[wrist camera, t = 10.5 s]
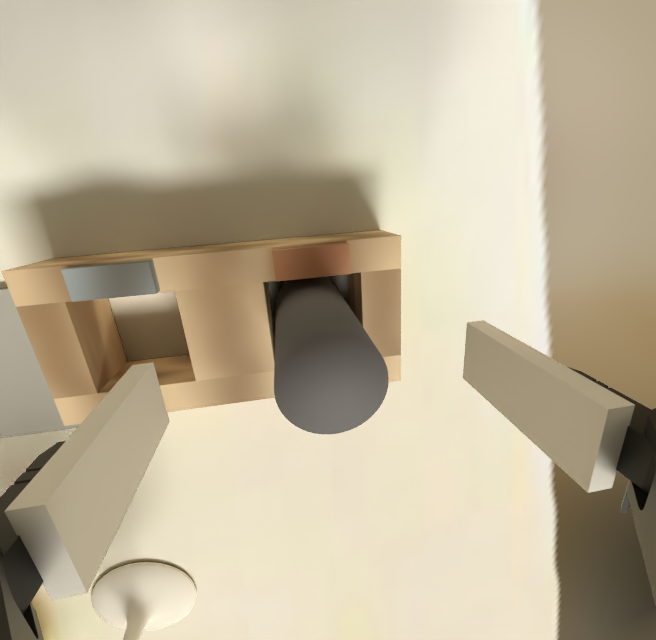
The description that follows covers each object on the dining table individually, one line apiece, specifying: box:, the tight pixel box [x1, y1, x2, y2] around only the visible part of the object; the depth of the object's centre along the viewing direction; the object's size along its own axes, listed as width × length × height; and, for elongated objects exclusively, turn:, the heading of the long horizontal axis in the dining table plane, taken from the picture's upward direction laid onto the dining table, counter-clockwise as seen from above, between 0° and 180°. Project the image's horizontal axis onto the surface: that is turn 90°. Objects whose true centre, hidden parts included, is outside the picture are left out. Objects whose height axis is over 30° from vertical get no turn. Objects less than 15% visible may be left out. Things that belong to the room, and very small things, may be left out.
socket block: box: [1, 230, 401, 426], centre depth 20 cm, size 20×9×5 cm, turn 95°
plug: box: [274, 277, 389, 434], centre depth 18 cm, size 4×4×11 cm
